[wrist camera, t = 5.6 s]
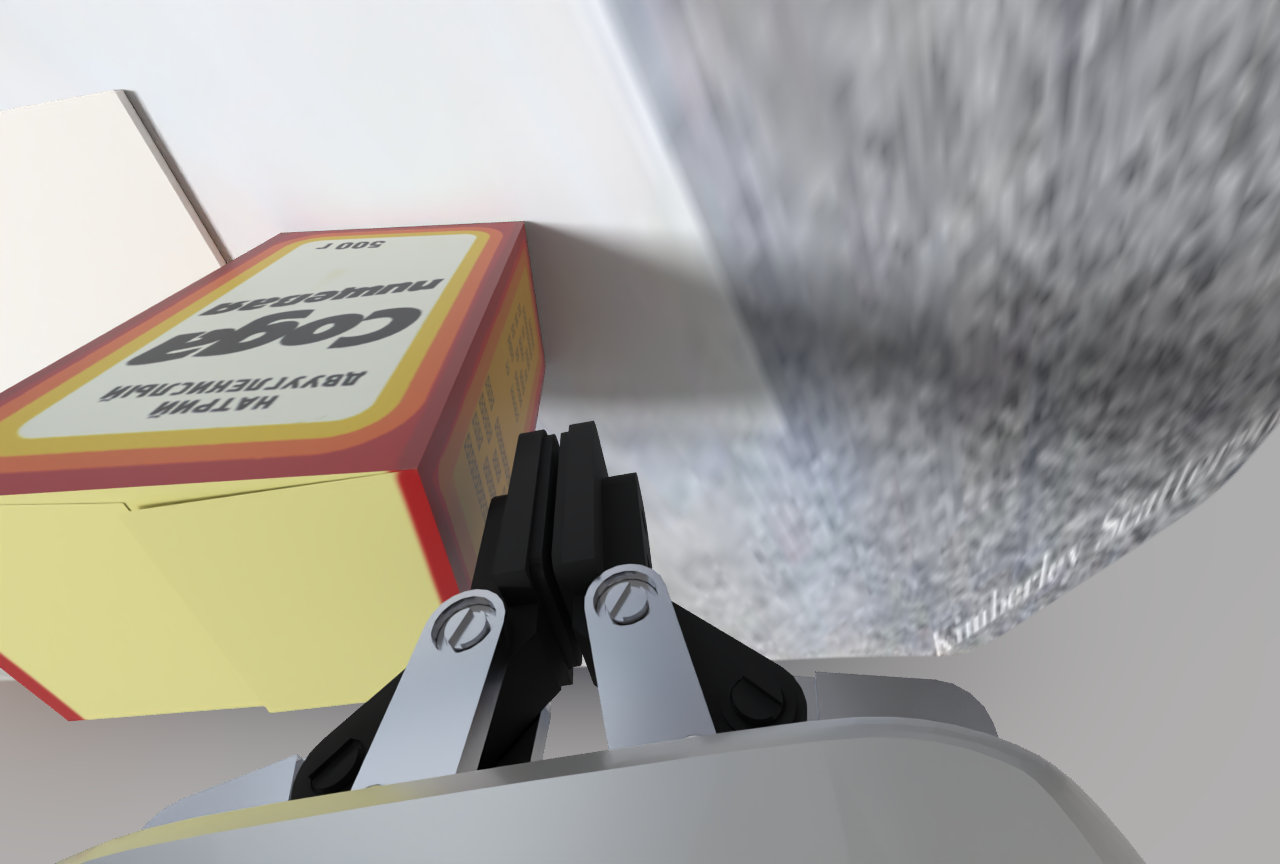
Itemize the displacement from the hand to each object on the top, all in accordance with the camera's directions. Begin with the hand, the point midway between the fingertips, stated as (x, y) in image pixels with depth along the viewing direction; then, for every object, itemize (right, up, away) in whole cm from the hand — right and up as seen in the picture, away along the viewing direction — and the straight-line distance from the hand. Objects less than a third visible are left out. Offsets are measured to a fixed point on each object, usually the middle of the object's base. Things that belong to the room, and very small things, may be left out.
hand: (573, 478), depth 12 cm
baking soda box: (-8, +7, +11) cm, 15 cm away
